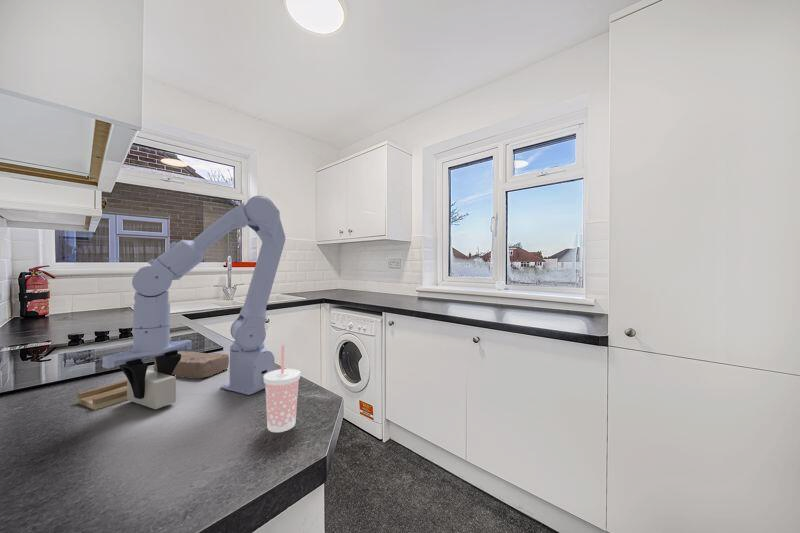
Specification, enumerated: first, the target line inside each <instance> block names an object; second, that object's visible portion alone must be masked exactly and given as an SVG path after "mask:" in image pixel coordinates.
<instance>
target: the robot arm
mask: <svg viewBox="0 0 800 533" xmlns="http://www.w3.org/2000/svg"><path fill="white" fill-rule="evenodd" d="M280 215H281V213H280V210H279V209H278V207H277V206H276V205H275V203H274V202H273V201H272V200H271V199H270V198H269V197H267V196H264V195H255V196H252V197H250V198H249V199H248V200H247V202H246V203H245V202H242V203H240V204H238V205H237V206H235V207H233V208H231V209H230V210H228V211H227V212H225V213H224V214H223V215H222V216H221V217H219V219H217V220H216V221H214V222H213V223H212V224H211V225H210V226H208V227H207V228H206V229H205V230H203V231H202V232H201V233H200V234H198V235H197V236H196V237H195V238H194V239H192V240H186V239H181V240H178V241H177V242H175V241H172V242H171V243H170V244H169V245H168V246H169V248H168V249H167V250H166V251H164V252H163V253H162V254H160V255H159V256H158V257H157V258H155V259H153V258H151V259H150V260H148V261H147V264H149V265H147V266H143V267H141V268H138V270H137V272H135V274H134V275H133V277H132V281H131V284H132V288H133V289H134V290H135V292H134V296H133V300H134V303H133V309H132V310H133V318H132V321H133V322H132V324H133V326H132V328H133V330H132V333H133V334H132V348H131V349H128V350H124V351H121V352H117V353H114V354H109V355H106V356H105V355H104V356H102V360H101V361H102V362H101V363H102V367H101V368H104V369H108V370H109V369H113V368H116V367H119V368H120V370H121V371H122V372H123V374H124V375H125V377H126V379H127V378H128V380H129V382H130V385H131V387H132V390H133V394H134V397H135V398H138V399H142V398H144V393H145V376H146V371H147V370H148V367H149V364H145V363H144V360H147V359H153V358H154V360H156V364H157V372H158V373H162V374H166V375H170V376H172V373H173V371H174V369H175V367H176V366H177V364H178V362H179V361H180V359H181V354H178V352H180V351H190V350H193V340H189V339H184V340H178V341H170V340H171V336H170V335H171V334H170V333H171V331H170V330H171V322H170V321H171V302H170V301H169V299H170V298H169V294H170V292H169V289H170V287H171V285H172V282H173V281H175V280H176V281H178V280H181V279H182V278H183V277H184V276H185V275H187V274H188V273H189V272H191V270H193V269H194V268H195V267H197V266H198V265H199V264H200V263H201V262H203V261H204V258H205V256H204V255H205V251H206V250H207V249H208V248H210V247H211V246H212V245H214V244H215V243H216V242H218V241H219V240H221V239H222V238H223V237H224V236H226V235H227V234H229V233H230V232H231V231H233V230H237V229H243V228H245V227H248V228H251V229H252V230H253V231H254V232H255V233H256V235H257V236H258V237H259V239H260V241H261V246H260V249H259V253H258V257H257V259H256V263H255V267H254V269H253V273H252V277H251V279H250V283H249V287H248V290H247V293H246V297H245V299H244V300H245V301H244V303H243V306H242V308H241V309H240V310H239V314H238V317H237V318H236V319H235V320H234V321H233V323H232V324H231V326H230V334H231V337H232V338H233V339H234V341H233V342H232V344H231V345H230V347H229V382H227V383H223V384H222V385H220V389H224V390H227V391H231V392H235V393H240V394H243V395H247V396H250V395H253V394H256V393H257V392H260V391H262V390H265V383H264V378H263V376H264V375H265V374H266V373H268V372H270V371H274V370H275V356H274V354H273V352H272V351H270V350H268V349H267V348H266V347H265V342H264V341H265V340H266V337H267V332H266V328H265V327H266V326H265V324H266V320H267V306H268V302H269V300H270V296H271V292H272V288H273V284H274V280H275V278H276V275H277V271H278V268H279V264H280V261H281V257H282V253H283V250H284V245H285V242H286V234H285V232H284V227H283V225H282V220H281V216H280ZM142 360H143V361H142Z"/></svg>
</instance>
